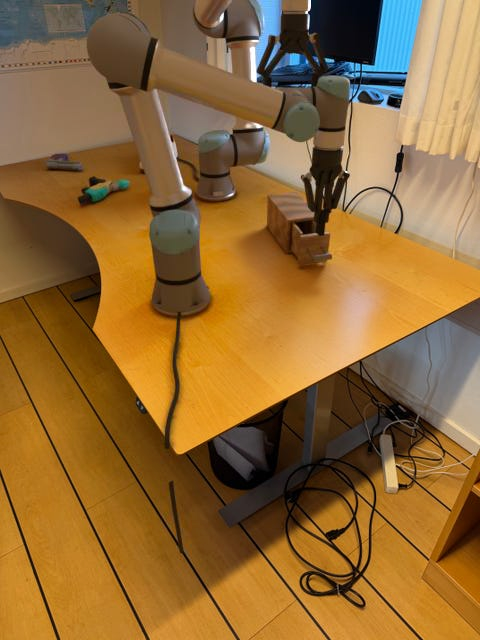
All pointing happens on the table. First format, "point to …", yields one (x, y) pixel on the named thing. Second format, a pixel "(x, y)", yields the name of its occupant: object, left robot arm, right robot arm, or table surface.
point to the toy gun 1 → (62, 162)
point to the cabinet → (286, 216)
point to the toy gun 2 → (100, 189)
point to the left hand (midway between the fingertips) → (319, 233)
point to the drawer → (309, 243)
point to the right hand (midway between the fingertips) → (291, 100)
